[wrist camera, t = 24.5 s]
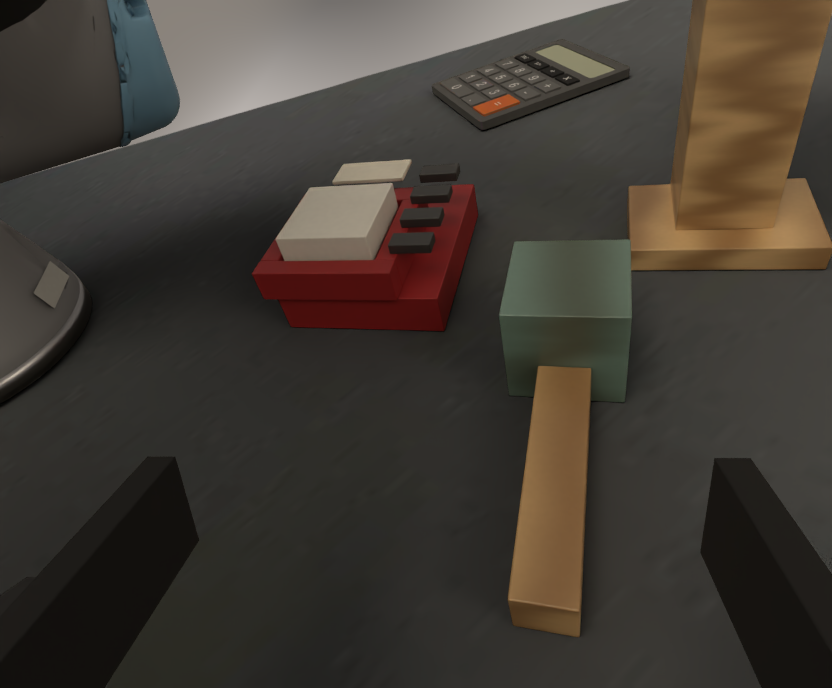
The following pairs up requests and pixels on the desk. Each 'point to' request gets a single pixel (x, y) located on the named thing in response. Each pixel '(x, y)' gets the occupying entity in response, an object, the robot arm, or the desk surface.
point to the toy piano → (378, 276)
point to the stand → (738, 146)
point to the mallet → (561, 407)
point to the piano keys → (419, 195)
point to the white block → (339, 223)
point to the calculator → (527, 82)
